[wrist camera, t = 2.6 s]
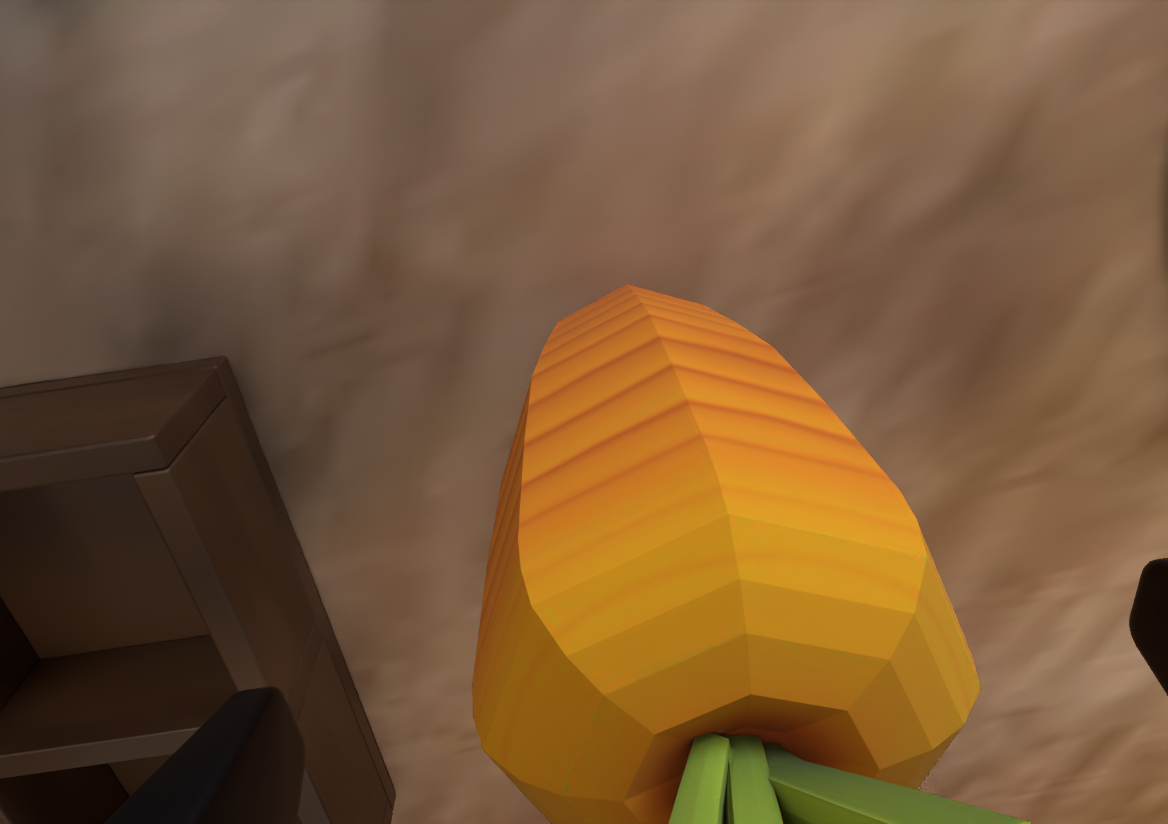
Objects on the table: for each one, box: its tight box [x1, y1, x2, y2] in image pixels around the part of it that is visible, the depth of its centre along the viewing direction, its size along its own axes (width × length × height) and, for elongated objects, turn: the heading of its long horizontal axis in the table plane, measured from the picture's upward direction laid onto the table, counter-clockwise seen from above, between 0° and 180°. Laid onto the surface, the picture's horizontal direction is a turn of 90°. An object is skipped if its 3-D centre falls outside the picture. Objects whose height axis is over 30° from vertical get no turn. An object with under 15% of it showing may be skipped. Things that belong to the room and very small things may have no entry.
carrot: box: [472, 284, 1031, 824], centre depth 10 cm, size 5×5×15 cm
